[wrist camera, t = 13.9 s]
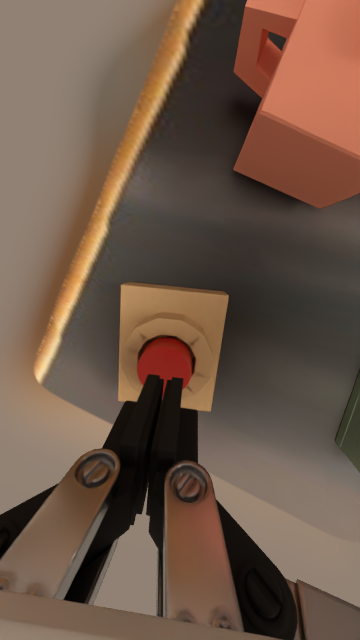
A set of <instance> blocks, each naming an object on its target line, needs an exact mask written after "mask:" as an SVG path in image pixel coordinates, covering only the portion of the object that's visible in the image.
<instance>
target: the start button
mask: <svg viewBox="0 0 360 640" xmlns="http://www.w3.org/2000/svg"><path fill="white" fill-rule="evenodd" d="M191 373H192V360H191V355H190V352H189V350H188V349H187V347H186V346H185V345H184V344H183V343H182V342H180V341H178V340H176V339H173V338H159V339H156V340H154V341H152V342H151V343H150V344H148V346H147V347H146V348H145V350H144V352H143V354H142V356H141V357H140V359H139V362H138V365H137V374H138V378H139V380H140V382H141V384H142V385H144V383H145V380H146V378H147V376H148V374H153V375H160V379H164V386H163V396H164V391H165V387H166V383H167V379H168V380H172V377H177V378H184V380H183V389H184V388H185V387H186V386H187V385H188V383H189V381H190V379H191ZM183 389H182V390H183Z"/></svg>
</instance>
